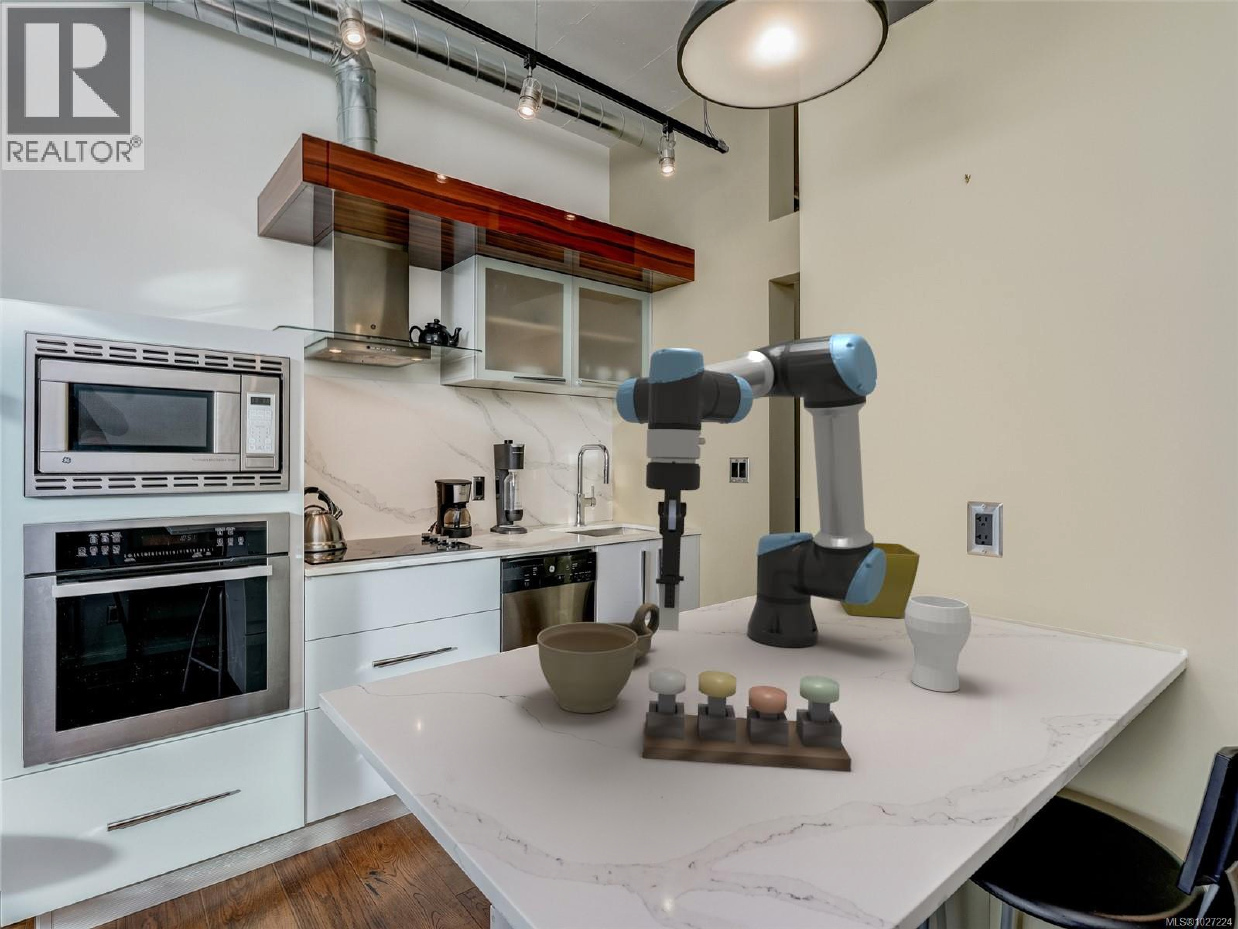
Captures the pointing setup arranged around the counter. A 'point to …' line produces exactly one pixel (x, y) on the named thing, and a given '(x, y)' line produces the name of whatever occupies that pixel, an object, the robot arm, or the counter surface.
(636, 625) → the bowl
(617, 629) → the planter bowl
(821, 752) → the panel
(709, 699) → the ochre button
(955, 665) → the cup
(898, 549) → the flower pot
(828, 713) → the sage button
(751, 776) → the counter surface
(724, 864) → the counter surface
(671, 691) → the grey button
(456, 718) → the counter surface
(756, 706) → the terracotta button
